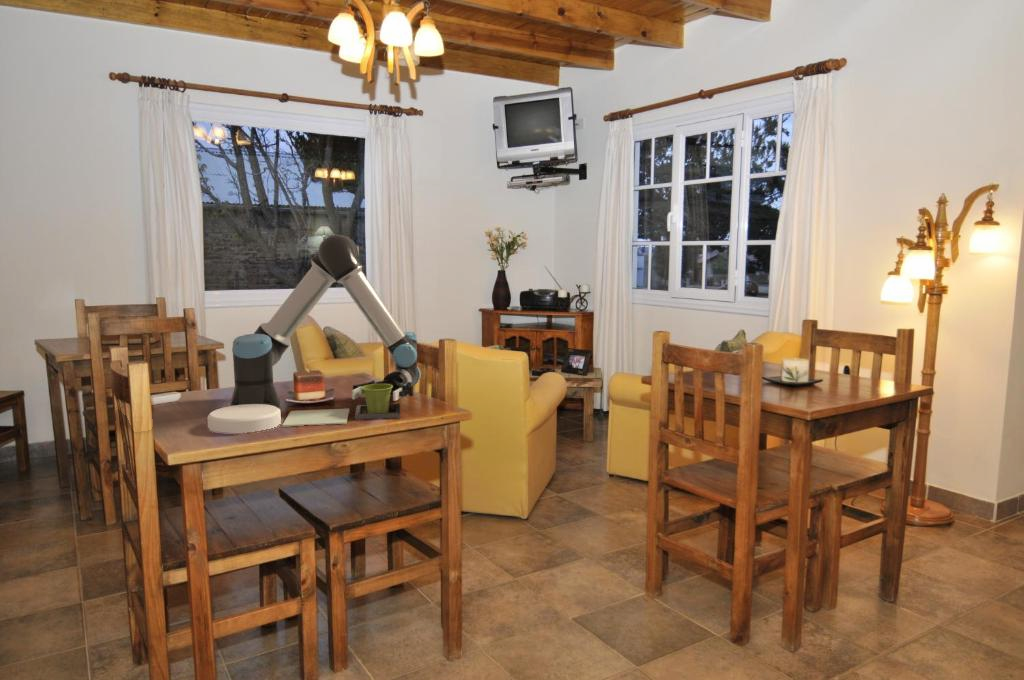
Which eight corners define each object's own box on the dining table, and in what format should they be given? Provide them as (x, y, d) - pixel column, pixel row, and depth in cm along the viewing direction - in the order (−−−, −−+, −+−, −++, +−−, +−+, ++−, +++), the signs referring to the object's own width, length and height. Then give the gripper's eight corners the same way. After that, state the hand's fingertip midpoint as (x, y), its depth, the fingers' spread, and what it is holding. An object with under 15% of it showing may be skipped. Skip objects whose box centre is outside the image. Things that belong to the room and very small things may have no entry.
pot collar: (355, 420, 214) (354, 415, 214) (357, 409, 227) (356, 405, 227) (400, 418, 217) (400, 413, 216) (399, 408, 230) (399, 403, 229)
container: (293, 426, 208) (292, 411, 208) (224, 439, 194) (223, 423, 194) (263, 415, 223) (262, 400, 222) (197, 426, 209) (196, 410, 208)
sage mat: (282, 427, 206) (282, 425, 206) (290, 412, 224) (290, 410, 224) (346, 424, 209) (346, 422, 209) (349, 410, 227) (349, 408, 227)
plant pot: (384, 418, 216) (383, 390, 215) (357, 416, 219) (356, 388, 218) (398, 411, 225) (398, 384, 224) (372, 409, 228) (371, 382, 227)
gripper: (432, 394, 237) (412, 409, 216) (362, 392, 241) (336, 406, 221) (432, 372, 236) (412, 384, 215) (361, 370, 240) (335, 382, 220)
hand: (373, 395), depth 218 cm, fingers open, 12 cm apart
